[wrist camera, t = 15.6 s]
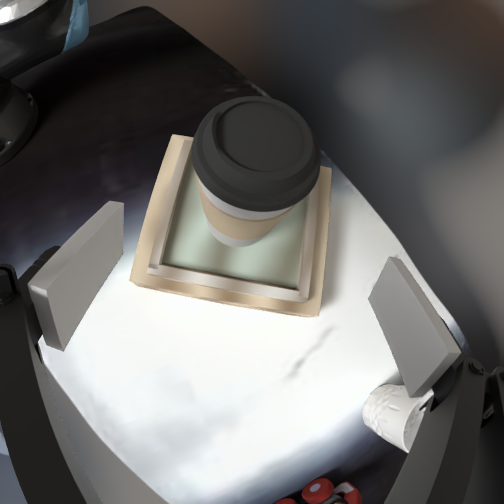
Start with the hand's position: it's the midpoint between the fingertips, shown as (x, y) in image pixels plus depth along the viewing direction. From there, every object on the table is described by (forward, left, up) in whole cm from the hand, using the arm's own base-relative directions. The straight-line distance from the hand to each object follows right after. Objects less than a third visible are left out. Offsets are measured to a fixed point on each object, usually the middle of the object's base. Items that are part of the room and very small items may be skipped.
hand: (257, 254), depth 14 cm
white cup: (+23, -12, -21) cm, 33 cm away
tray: (0, +8, -21) cm, 22 cm away
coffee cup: (-1, +8, -17) cm, 19 cm away
